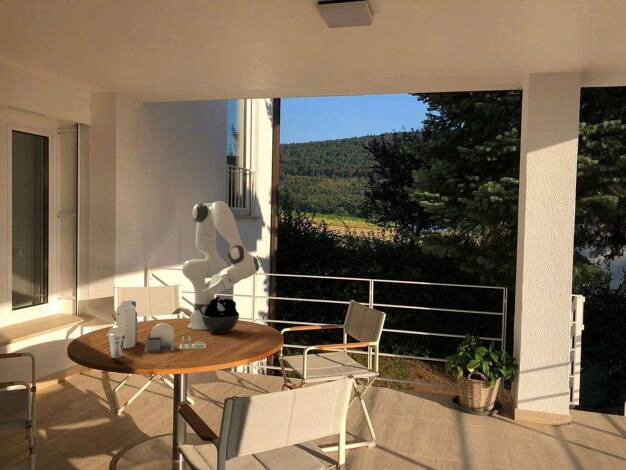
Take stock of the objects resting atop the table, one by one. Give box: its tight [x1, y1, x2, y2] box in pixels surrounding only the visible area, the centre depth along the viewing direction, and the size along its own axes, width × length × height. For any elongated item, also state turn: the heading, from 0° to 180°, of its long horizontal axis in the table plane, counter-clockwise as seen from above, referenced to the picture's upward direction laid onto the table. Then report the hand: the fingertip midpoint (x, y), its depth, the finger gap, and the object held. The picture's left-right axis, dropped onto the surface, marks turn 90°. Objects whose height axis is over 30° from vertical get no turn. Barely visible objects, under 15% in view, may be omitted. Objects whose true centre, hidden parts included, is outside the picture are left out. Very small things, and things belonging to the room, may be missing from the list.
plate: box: [149, 322, 175, 347], centre depth 247 cm, size 2×11×11 cm, turn 104°
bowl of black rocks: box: [202, 296, 240, 334], centre depth 286 cm, size 20×20×19 cm
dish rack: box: [143, 332, 176, 353], centre depth 247 cm, size 16×13×6 cm
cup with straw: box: [106, 312, 127, 359], centre depth 233 cm, size 8×9×20 cm
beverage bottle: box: [131, 300, 139, 343], centre depth 262 cm, size 8×8×20 cm
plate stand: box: [179, 336, 207, 350], centre depth 250 cm, size 9×12×5 cm
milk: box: [116, 299, 136, 350], centre depth 251 cm, size 6×6×22 cm
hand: (203, 289), depth 259 cm, fingers open, 8 cm apart
